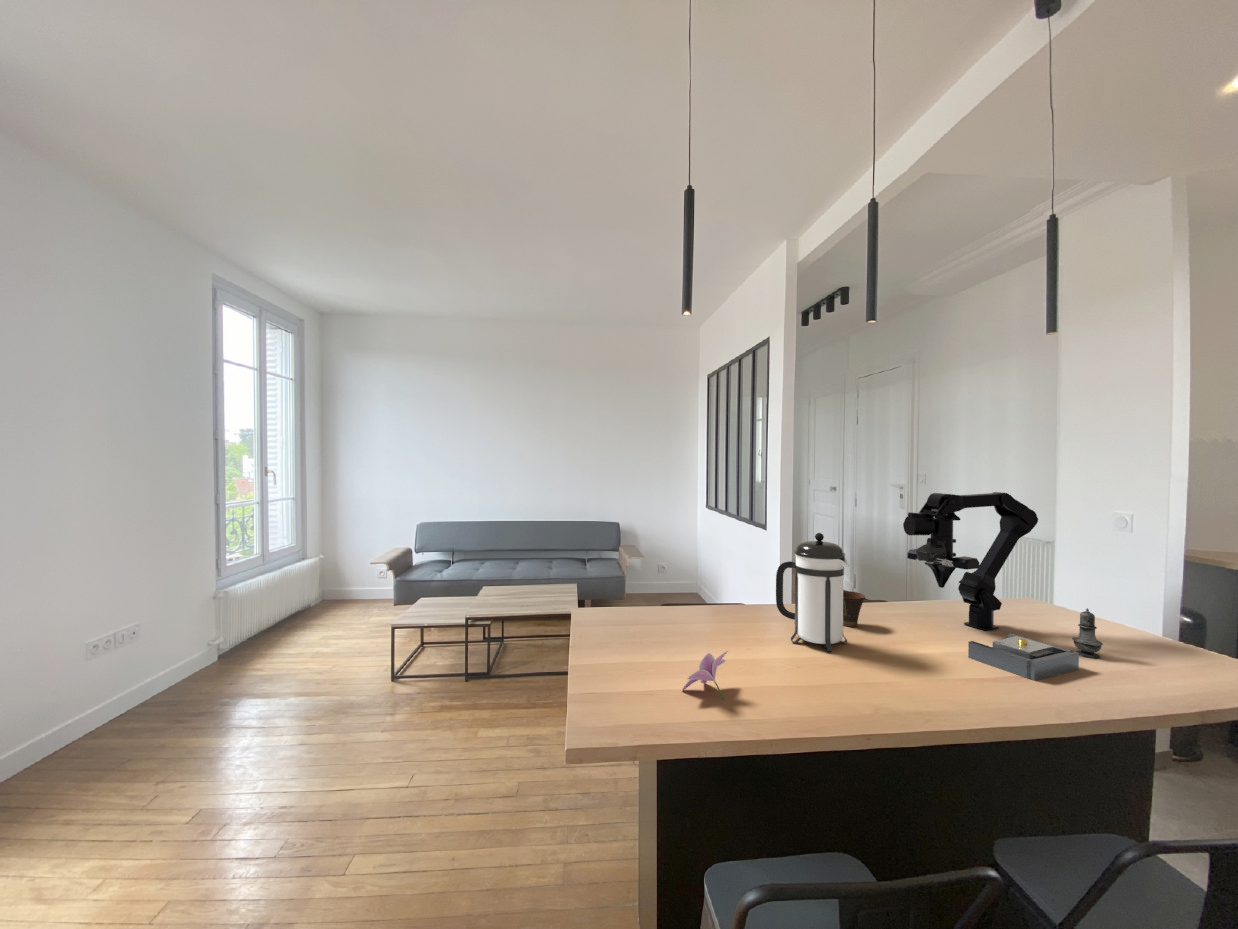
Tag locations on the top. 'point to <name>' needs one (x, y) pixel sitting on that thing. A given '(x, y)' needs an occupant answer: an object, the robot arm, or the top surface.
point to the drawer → (1023, 647)
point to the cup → (851, 607)
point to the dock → (1026, 660)
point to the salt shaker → (1087, 637)
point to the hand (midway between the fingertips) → (941, 587)
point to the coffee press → (816, 592)
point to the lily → (706, 670)
